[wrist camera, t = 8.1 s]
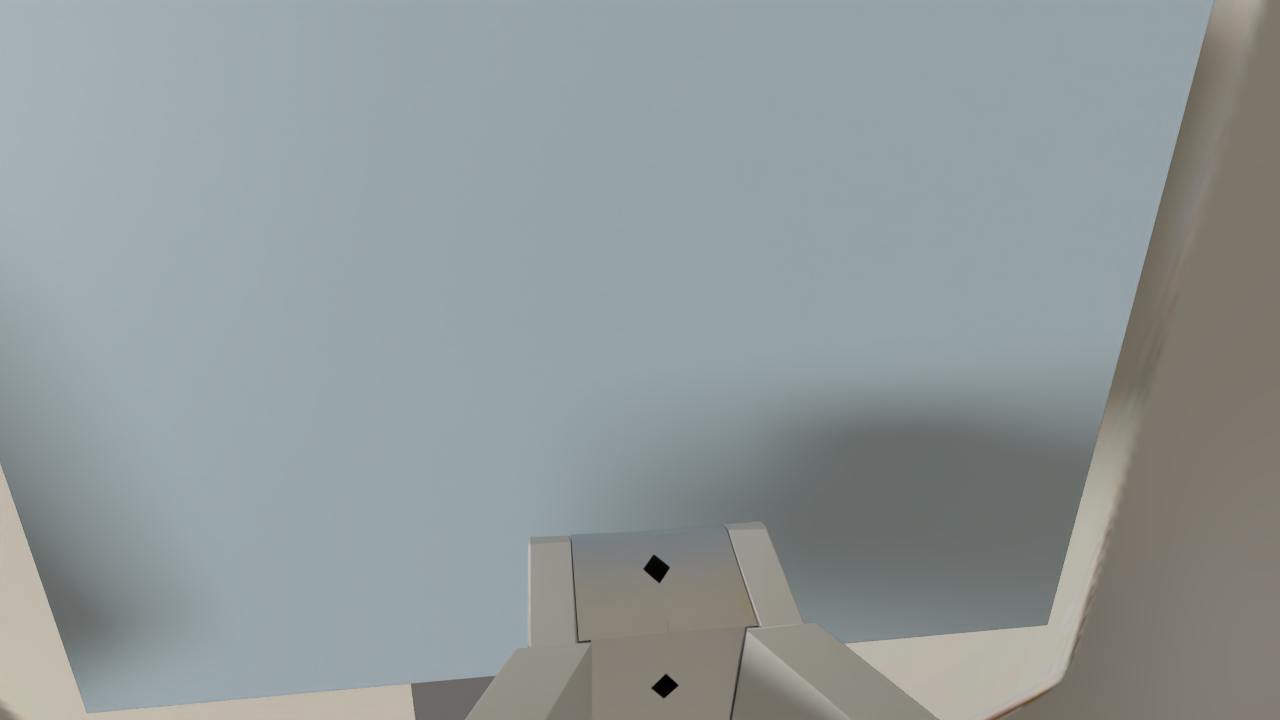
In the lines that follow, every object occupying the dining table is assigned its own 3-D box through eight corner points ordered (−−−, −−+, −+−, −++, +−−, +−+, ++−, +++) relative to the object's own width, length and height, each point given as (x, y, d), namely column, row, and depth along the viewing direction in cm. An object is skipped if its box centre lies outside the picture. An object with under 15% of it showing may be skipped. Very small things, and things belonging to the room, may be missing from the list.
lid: (-96, -121, 10) (-214, -159, 9) (1148, -67, 13) (1237, -88, 11) (148, 688, 16) (103, 759, 14) (991, 613, 19) (1036, 666, 17)
